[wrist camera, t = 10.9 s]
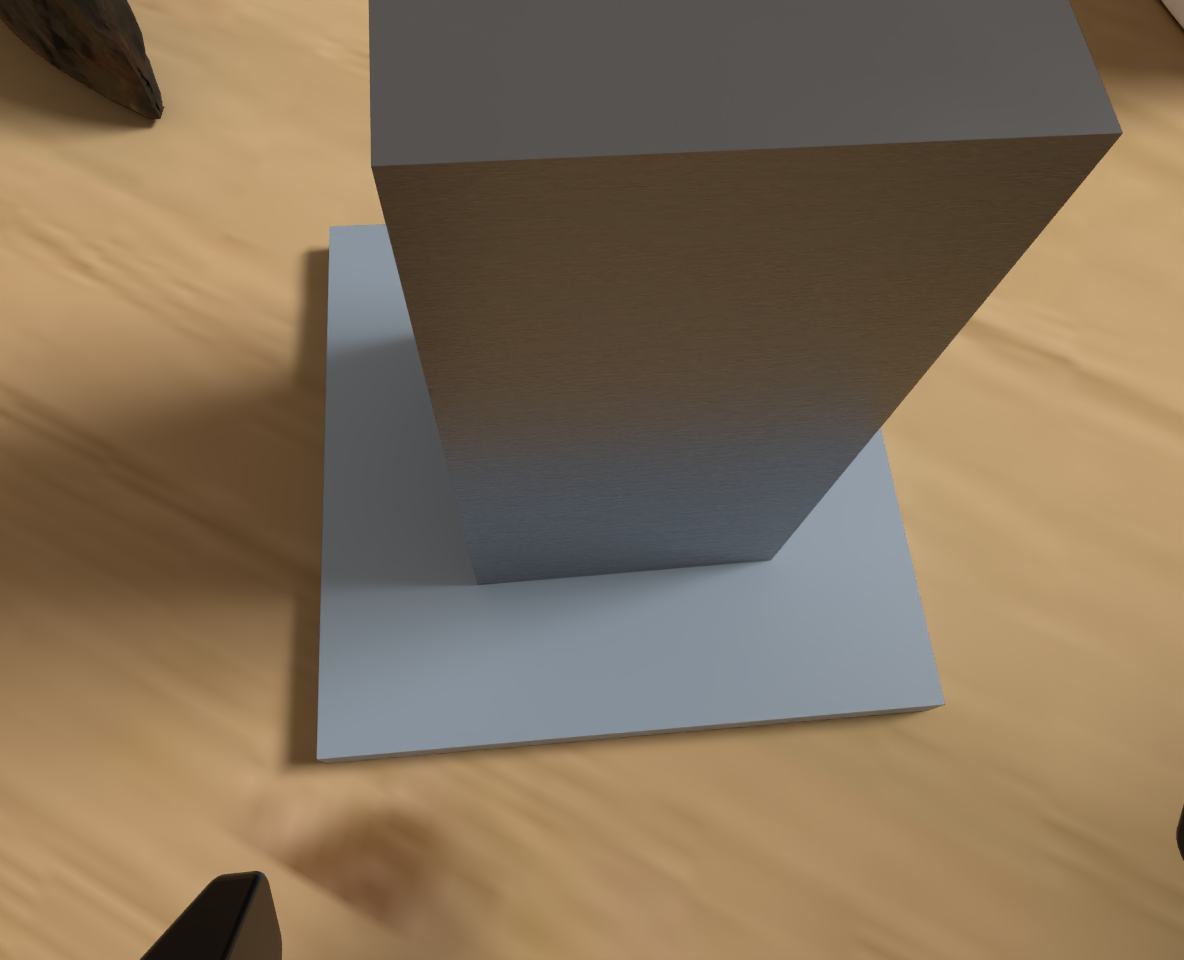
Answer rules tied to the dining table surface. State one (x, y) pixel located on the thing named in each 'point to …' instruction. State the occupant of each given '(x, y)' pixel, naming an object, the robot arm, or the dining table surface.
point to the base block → (571, 589)
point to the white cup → (1176, 9)
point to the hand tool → (90, 46)
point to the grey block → (702, 245)
